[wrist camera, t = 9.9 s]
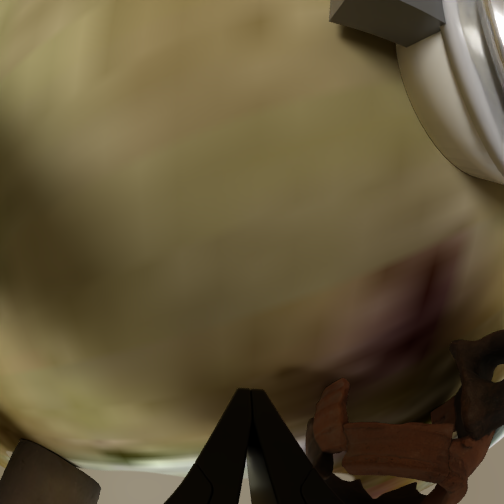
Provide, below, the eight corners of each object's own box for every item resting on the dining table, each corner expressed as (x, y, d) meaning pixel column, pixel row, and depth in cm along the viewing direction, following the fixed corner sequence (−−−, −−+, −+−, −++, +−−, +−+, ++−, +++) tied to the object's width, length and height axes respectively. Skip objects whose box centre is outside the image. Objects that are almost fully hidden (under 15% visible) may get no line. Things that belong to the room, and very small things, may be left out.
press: (311, 133, 8) (355, 124, 4) (328, -59, 5) (354, -112, 2) (520, 202, 8) (573, 224, 5) (522, 48, 5) (569, 43, 2)
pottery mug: (412, 433, 15) (383, 535, 8) (310, 373, 17) (246, 476, 10) (547, 322, 8) (586, 445, 1) (435, 218, 10) (467, 337, 4)
